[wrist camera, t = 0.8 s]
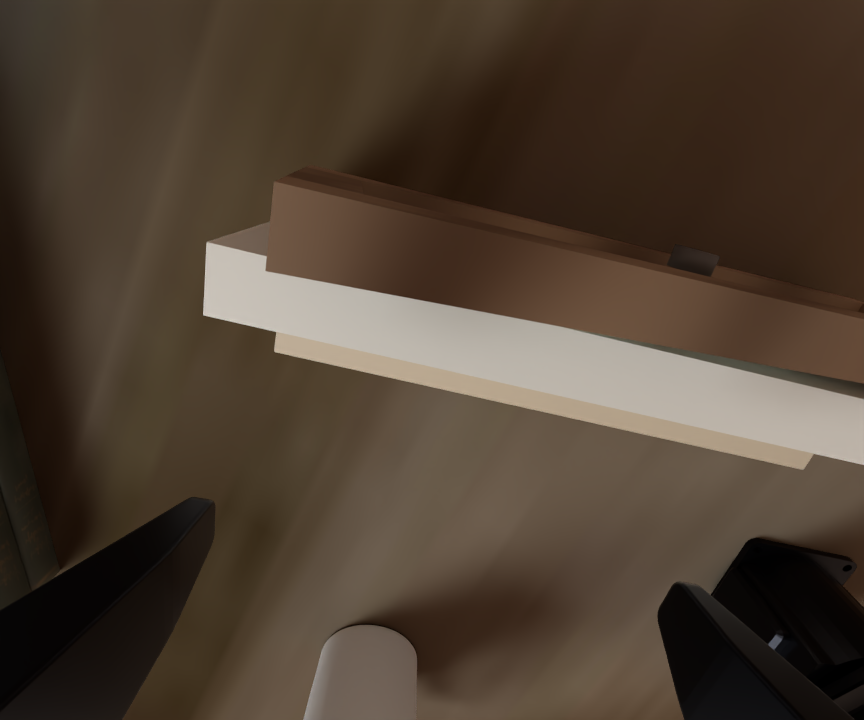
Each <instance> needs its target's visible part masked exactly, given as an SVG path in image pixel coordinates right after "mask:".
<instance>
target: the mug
mask: <svg viewBox="0 0 864 720" xmlns="http://www.w3.org/2000/svg"><path fill="white" fill-rule="evenodd" d="M416 705H417V655H416V652H415V649H414V647H413V646H412V644H411V643H410V642H409V641H408V640H407V639H406V638H405V637H404V636H402V635H401V634H399V633H398V632H396V631H394V630H391V629H388V628H385V627H381V626H376V625H357V626H351V627H348V628H345V629H342V630H340V631H338V632H336V633H335V634H334V635H332V636H331V637H330V638H329V639H328V640H327V642H326V643H325V645H324V647H323V649H322V653H321V656H320V660H319V664H318V667H317V671H316V675H315V678H314V682H313V685H312V689H311V692H310V696H309V700H308V704H307V708H306V712H305V716H304V719H303V720H416Z"/></svg>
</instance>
